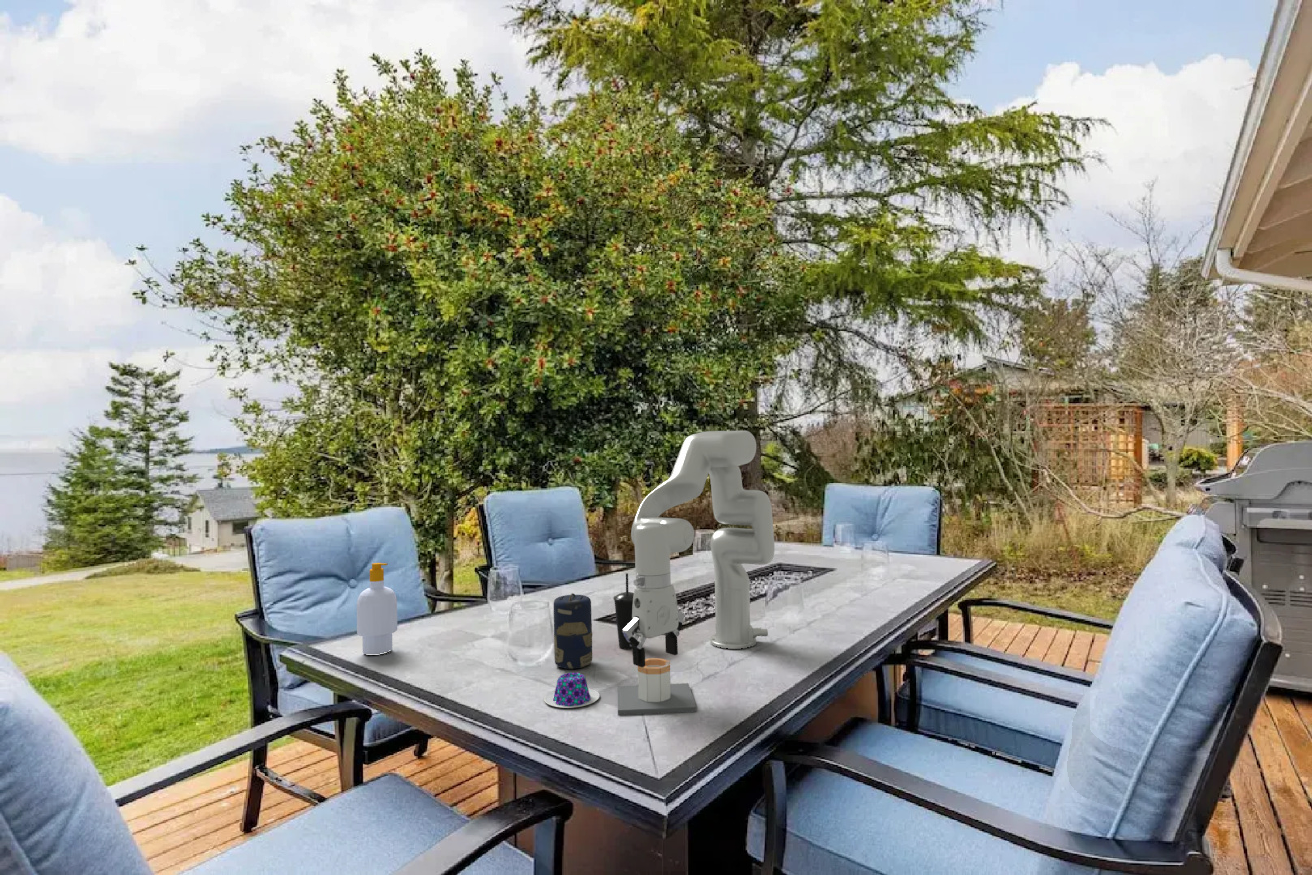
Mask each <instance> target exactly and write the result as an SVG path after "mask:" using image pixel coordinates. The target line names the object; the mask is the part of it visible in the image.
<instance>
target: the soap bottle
mask: <svg viewBox="0 0 1312 875" xmlns="http://www.w3.org/2000/svg"><path fill="white" fill-rule="evenodd" d="M382 566H388V563H382V562H372V563H371V568H370V569H369V587H368V588H365V589H364V590H363V591H361V592H360V593H359V595H358V598H357V600H356V634H357V636H360V637H362V654H363V653H364V654H380V653H384V652H388V651H389V650H392V651H393V634H394V633H395V632H397V631H398V599H397V595H396V593H395V591H394V590H393V589H392V588H390V587H388V586H385V574H384V573H385V572H384V570H385V569H384V568H383V567H382ZM364 654H363V655H364Z"/></svg>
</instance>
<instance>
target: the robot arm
mask: <svg viewBox="0 0 1312 875" xmlns="http://www.w3.org/2000/svg"><path fill="white" fill-rule="evenodd" d="M756 453H757V441H756V438H755V436H754V435H753V434H752V433H751V432H750V431H748V430H709V431H708V430H707V431H703V432H698V433H693V434H690V435H688V436H687V437H686V438H685V439H684V441H683V443H682V445H681V448H680V450H679V452H678V455H677V458H676V461H675V463H674V466H673V469H672V471H671V473H670V476H669V478H668V479H667V480H665V481H664V482H663V483H662V482H661V484H659V485H658V486H657V487H656V488H654V490H652V491H651V492H650V493H648V494H647V495H646V496H645V498H643V500H642V501H641V503H640V505H639V506H638V510H637V512H636V514H635V517H634V519H633V522H632V526H631V531H630V532H631V533H630V534H631V535H630V538H631V541H632V543H633V545H634V563H635V564H634V565H635V579H633V581H632V583H633V585H634V587H635V588H634V591H633V593H634V596H633V606H632V621H631V622H630V623H629V624H628V625H627V626H626V627H625V628H624V629H623V634H624V636H625V638H626V641H627V642H628V643H629V644H630V646H632V647H633V649H632V664H633V665H634V666H637V667H638V666H640V667H645V659H646V649H645V647H643V646H644V644H645V642H646V640H647V639H653V638H657V637H661V636H662V635H665V639H664V640H665V653H666V654H670V655H673V656H677V655H679V654H678V653H679V648H678V637H679V636H680V632H681V629H682V626H683V622H684V618H685V613H684V612H682V611H680V610H679V608H678V600H677V594H676V591H675V587H674V584H672V579H671V577H672V576H671V557H670V556H671V554H673V553H682V552H685V551H686V550H689V548H690V547H691V546H692V544H693V542H694V540H695V529H694V527H693V525H692V524H691V523H690V521H688V520H686V519H684V518H677V517H661V515H662V514H663V513H664V512H666V511H667V510H670V509H671V508H673V507H676V506H679V505H682V504H685V503H687V502H689V501H692V500H695V499H697V498H698V497H700V495H701V494H702V493H703V491H704V488H705V485H706V481H707V478H708V476H709V479H710V489H711V501H712V502H711V503H712V512H713V516H714V518H715V521H717V522H718V523H719V524H723V525H734V526H735V525H736V526H751V528H743V527H741V528H740V527H739V528H738V527H724V528H720V529H717V530H715V531H714V532H713V533H712V535H711V537H710V551H711V556H712V562H713V569H714V571H713V572H714V597H715V599H714V601H715V604H714V605H715V610H714V611H715V634H714V635H712V636H711V637H710V639H709V640H710V641H709V642H710V644H711V645H712V646H714V647H716V646H717V648H720V647H721V648H720V649H726V648H728V650H742V649H741V648H743V649H748V648H747V647H749V648H751V647H750V646H752V647H753V646H755V645H756V644H757V637H768V635H769V632H768V631H769V630H768V629H767V628H762V627H753V626H752V625H751V598H750V596H751V594H750V588H751V587H750V578H749V575H748V572H747V571H746V569H745V568H744V566H743V564H744V565H761V566H762V565H764V566H765V565H768V564H770V563H771V562H772V561H773V559H774V557H775V534H774V521H773V520H774V518H773V509H772V508H773V507H772V503H771V499H770V497H769V496H768V494H767V493H766V492H764V491H763V490H758V489H744V487H743V480H742V471H741V468H740V466H743V465H746V464H749V463H751V462H752V460H754V458H755V456H756ZM632 632H633V633H634V635H632Z"/></svg>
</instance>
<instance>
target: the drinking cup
mask: <svg viewBox="0 0 1312 875" xmlns="http://www.w3.org/2000/svg"><path fill="white" fill-rule="evenodd" d="M633 596H634V591H632V592H631V591H629V573H625V591H623V592H620V593H618V594H616V595H614V596H613V598H612V599H613V600H614V609H615V617H616V628H617V637H618V647H619V649H622V650H633V647H632V646H630V644H629V643H628V642H627V641H626V638H625V636H624V634H623V629H624V628H625V627H626V626H627V625H628V624H629V623H630V622H631V621H632V606H633ZM632 635H634V633H633V632H632Z"/></svg>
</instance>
